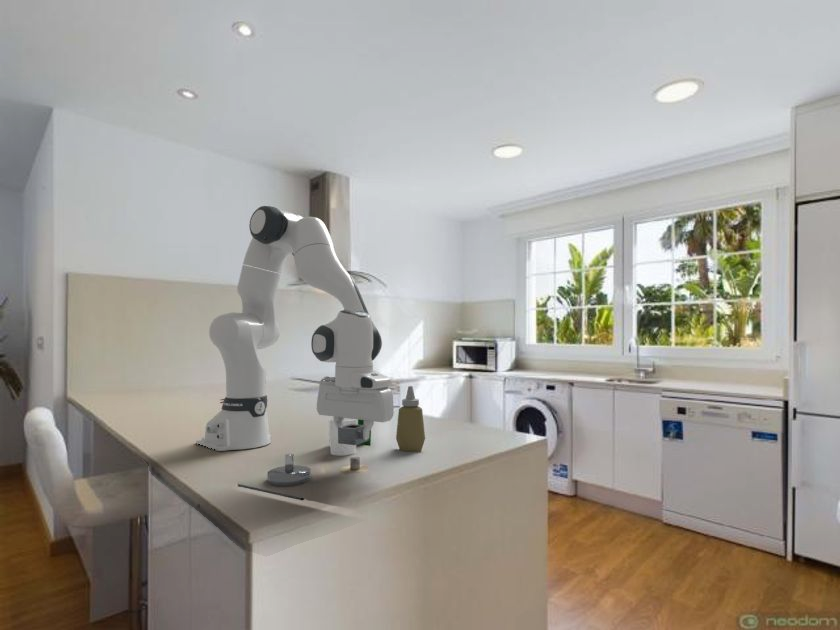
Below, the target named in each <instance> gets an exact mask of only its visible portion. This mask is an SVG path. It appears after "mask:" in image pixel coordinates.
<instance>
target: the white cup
mask: <svg viewBox="0 0 840 630" xmlns="http://www.w3.org/2000/svg"><path fill="white" fill-rule="evenodd" d="M342 422H343V425H344V426H346V425H349V424H357V425H358V419H350V418H344V420H342ZM328 438H329V440H328V441H329V449H330V451H329V452H330V454H331V456H332V455H333V456H351V455H354V454H356V453H357V445H348V444H339V443H338V429H337V427H336V425H335V423H334V417H333V416H330V417H329V418H328Z"/></svg>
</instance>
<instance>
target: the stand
mask: <svg viewBox="0 0 840 630" xmlns="http://www.w3.org/2000/svg"><path fill="white" fill-rule="evenodd" d="M360 460H361V458H360V457H359V456H351V457H350V461H349V465H344V466H342V467H340V468H339V471H340V472H341V473H344V474H350V475H351V474H352V475H353V474H363V473H366V472H368V471H370V469H371V468H370V466H369V465H366V464H361V461H360Z"/></svg>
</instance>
